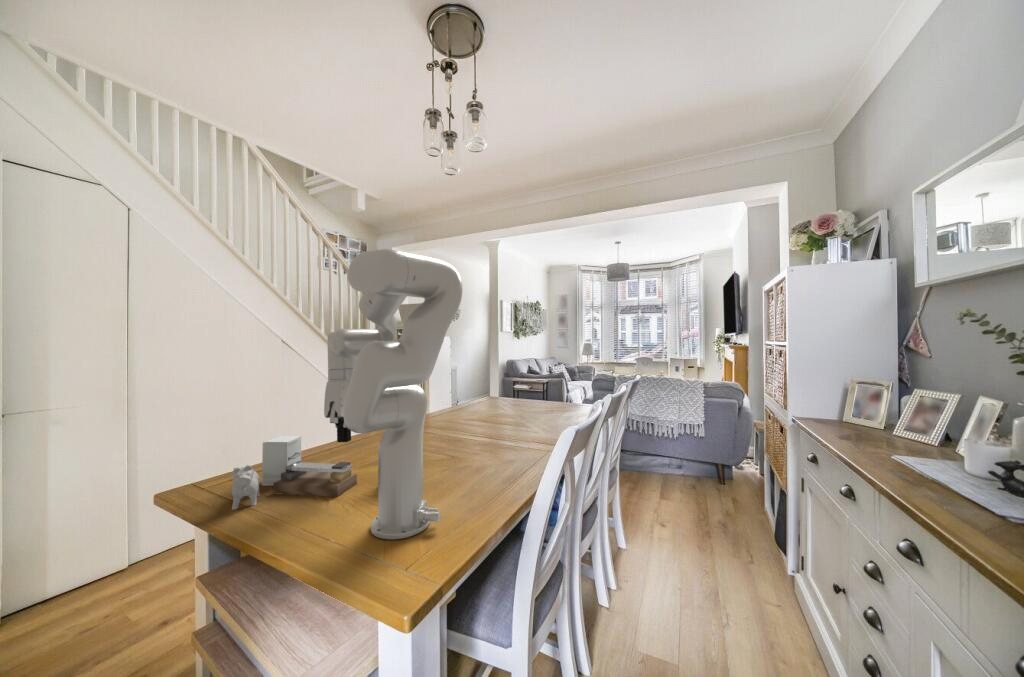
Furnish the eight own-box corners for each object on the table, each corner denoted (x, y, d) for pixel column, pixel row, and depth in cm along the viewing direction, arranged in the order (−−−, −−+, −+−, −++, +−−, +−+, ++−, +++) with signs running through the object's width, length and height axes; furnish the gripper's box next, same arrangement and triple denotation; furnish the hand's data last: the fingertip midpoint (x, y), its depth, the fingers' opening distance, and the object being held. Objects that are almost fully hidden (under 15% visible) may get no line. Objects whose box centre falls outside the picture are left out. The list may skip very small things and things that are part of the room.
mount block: (356, 483, 104) (356, 465, 104) (337, 496, 95) (337, 476, 95) (297, 481, 106) (297, 462, 107) (273, 493, 98) (273, 473, 98)
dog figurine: (228, 516, 85) (228, 471, 85) (236, 497, 95) (236, 457, 96) (255, 511, 87) (256, 467, 87) (260, 492, 98) (260, 453, 98)
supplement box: (286, 486, 103) (286, 442, 103) (261, 486, 103) (261, 442, 103) (302, 476, 110) (302, 435, 110) (278, 476, 110) (278, 435, 111)
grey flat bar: (352, 468, 102) (352, 462, 102) (342, 474, 97) (342, 467, 97) (297, 466, 104) (297, 459, 104) (285, 471, 100) (285, 464, 100)
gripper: (346, 374, 108) (347, 435, 107) (312, 377, 93) (313, 448, 92) (369, 373, 107) (370, 435, 106) (339, 376, 92) (340, 448, 91)
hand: (344, 441), depth 99 cm, fingers closed
